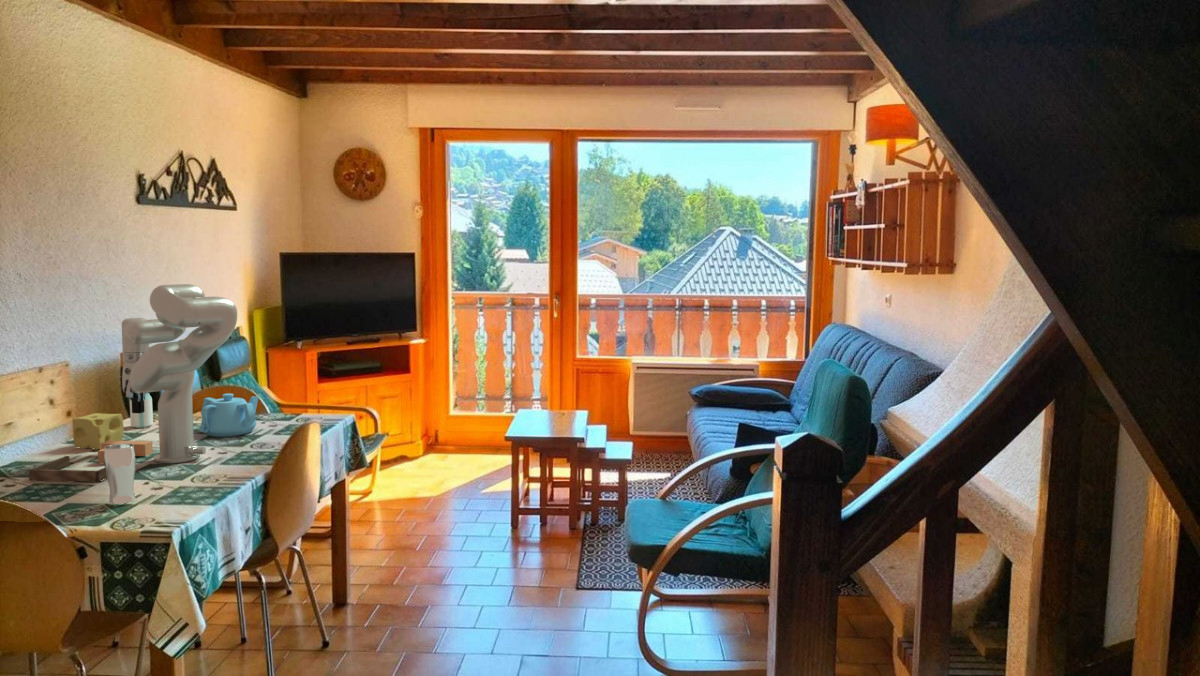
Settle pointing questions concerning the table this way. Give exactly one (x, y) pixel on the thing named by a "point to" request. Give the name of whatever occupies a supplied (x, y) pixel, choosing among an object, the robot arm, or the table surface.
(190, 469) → the table surface
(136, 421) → the can
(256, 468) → the table surface
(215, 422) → the teapot
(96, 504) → the table surface
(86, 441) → the cheese
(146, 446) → the t block
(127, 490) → the beer glass
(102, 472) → the brown wooden rack
